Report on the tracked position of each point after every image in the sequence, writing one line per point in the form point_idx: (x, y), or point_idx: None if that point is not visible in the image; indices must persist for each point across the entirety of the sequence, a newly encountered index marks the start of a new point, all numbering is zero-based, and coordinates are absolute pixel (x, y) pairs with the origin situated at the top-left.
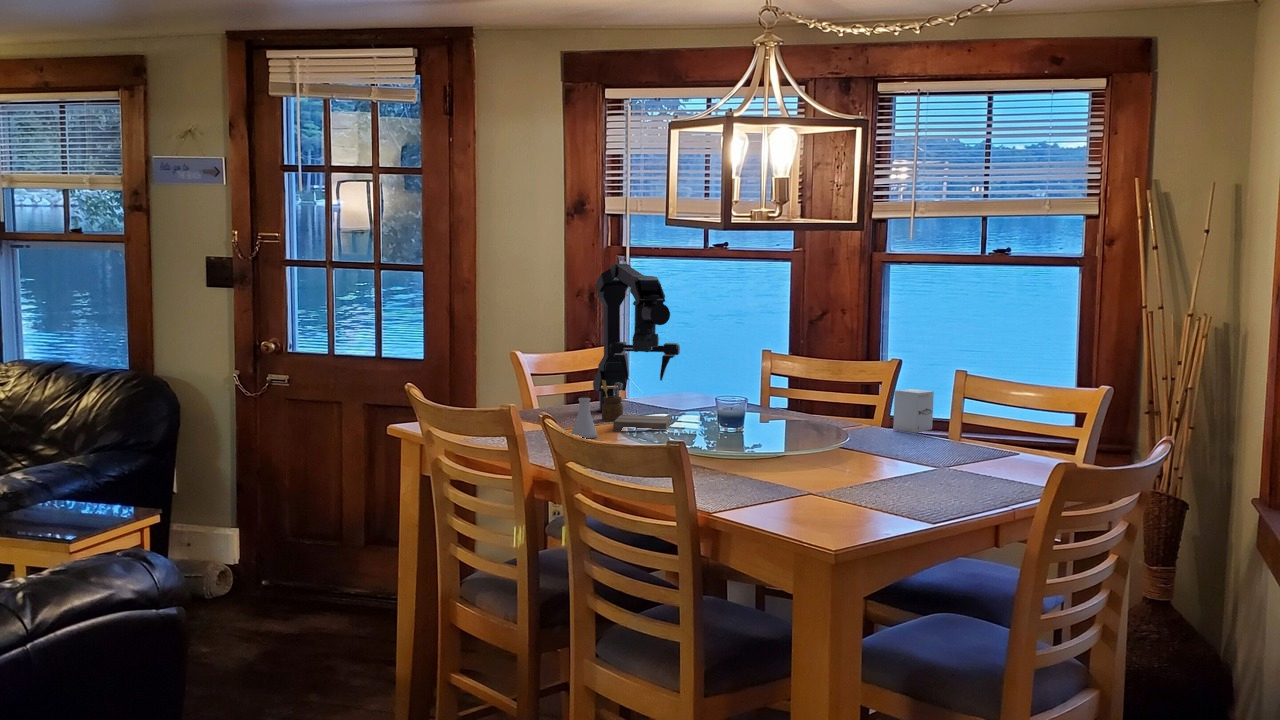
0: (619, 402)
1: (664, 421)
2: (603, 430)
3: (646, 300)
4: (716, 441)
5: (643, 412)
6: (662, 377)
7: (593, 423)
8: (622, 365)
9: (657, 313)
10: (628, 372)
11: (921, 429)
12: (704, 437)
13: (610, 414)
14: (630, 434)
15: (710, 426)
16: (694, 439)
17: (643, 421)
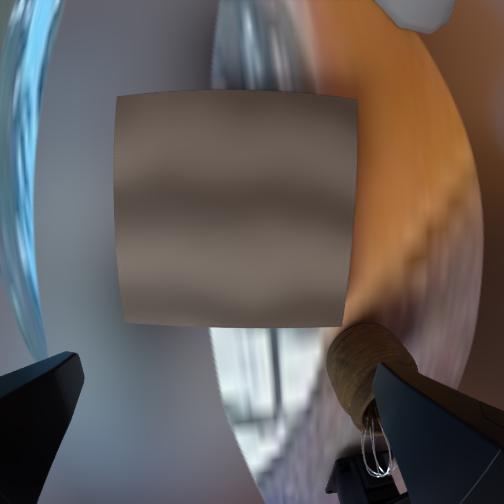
0: (360, 387)
1: (125, 153)
2: (382, 131)
3: None
4: (10, 14)
5: (266, 501)
6: (48, 360)
7: None
8: (501, 411)
9: None
10: (394, 427)
11: None
12: (23, 60)
13: (380, 334)
14: (267, 42)
15: (22, 299)
16: (53, 14)
17: (221, 131)
